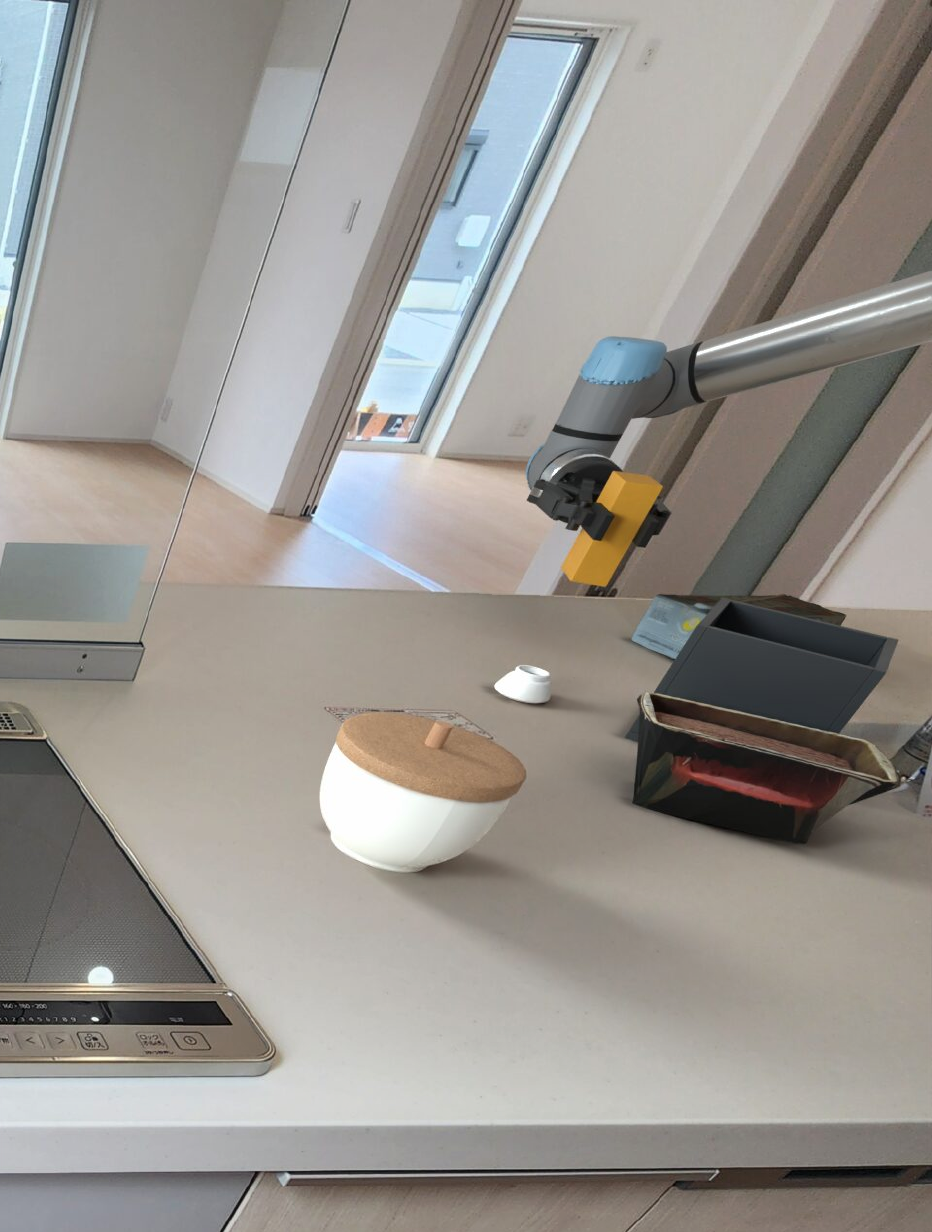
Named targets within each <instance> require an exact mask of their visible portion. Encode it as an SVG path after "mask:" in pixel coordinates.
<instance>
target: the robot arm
mask: <svg viewBox="0 0 932 1232" xmlns="http://www.w3.org/2000/svg"><path fill="white" fill-rule="evenodd" d="M928 343H932V270H928V271H926V272H922V273H919V274H915V275H912V276H908V277H905V278H903V279H900V280H896V281H893V282H889V283H886V284H883V285H880V286H876V287H873V288H870V289H867V290H863V291H860V292H857V293H853V294H851V295H848V296H845V297H841V298H838V299H835V300H831V301H828V302H824V303H822V304H818V305H815V306H812V307H809V308H805V309H803V310H798V311H797V312H796V311H795V312H793V313H789V314H785V315H783V316H779V317H777V318H773V319H770V320H767V321H764V322H759V323H757V324H754V325H751V326H748V327H744V328H741V329H738V330H734V331H731V332H728V333H725V334H722V335H718V336H715V337H712V338H709V339H705V340H703V341H700V342H695V343H692V344H689V345H685V346H681V347H679V348H675V349H673V350H669V351H668V348H667V345H666V344H665V343H664V342H663V341H658V340H653V339H645V338H638V337H630V336H616V335H615V336H614V335H613V336H612V335H611V336H606V337H603V338H601V339H600V340H599V341H598V342H597V343H595V345H594V347H593V348H592V351H591V352H590V354H589V356H588V358H587V359H586V360H585V363H583V364H582V366H581V368H580V370H579V374H578V377H577V379H576V381H575V383H574V385H573V387H572V388H571V391H570V393H569V395H568V397H567V399H566V401H565V404H563V405H564V406H563V408H562V409H561V412H560V414H559V416H558V418H557V420H556V422H555V424H554V426H553V428H552V429H551V431H550V432H549V435H548V437H547V438H546V440H545V442H544V443H543V444H542V445H540V446H539V447H538V448H537V449H536V450H535V451H533V453H532V455H531V456H530V458H529V459H528V461H527V464H526V468H525V477H526V481H527V483H526V484H527V486H528V489H529V490H530V492H529V494H528V496H527V498H526V502H529V503H530V504H533V505H535V506H536V507H537V508H539V509H540V510H541V511H542V512H543V514H545V515H546V516H547V517H548V518H550V519H551V520H552V521H560V522H563V523H564V524H566V526H565V528H564V529H565V530H568V531H572V532H573V531H574V532H577V531H578V530H579V528H580V527H581V529H582V528H583V529H584V530H585V532H586V533H587V534H588V535H589V536H590V537H591V538H592V539H593V540H597V541H601V540H602V538H603V536H604V535H605V533H606V531H607V529H608V527H609V526H610V524H611V522H612V520H613V518H614V517H615V516H614V515H613V514H612V513H611V512H610V511H609V510H608V509H607V508H606V507H605V506H604V505H603V504H602V503H597V502H596V501H597V500H598V498H599V496H600V494H601V492H602V490H603V489H604V487H605V485H606V483H607V481H608V479H609V477H610V476H611V474H612V472H613V471H618V472H624V470H623V469H622V468H621V467H620V466H619V465H617V464H616V463H615V462H614V461H613V460H612V459H611V458H612V456H613V453H614V452H615V449H616V448H617V446H618V443H619V442H620V440H621V438H622V437H623V435H624V434H625V432H626V429H627V428H628V426H629V424H630V422H631V421H632V420H633V419H643V418H645V419H656V418H661V417H665V416H669V415H673V414H676V413H678V412H680V411H682V410H684V409H687V408H690V407H695V406H697V405H701V404H703V403H709V402H711V401H715V400H718V399H722V398H725V397H730V396H733V395H738V394H741V393H744V392H748V391H752V390H755V389H759V388H763V387H767V386H770V385H771V386H772V385H774V384H779V383H782V382H786V381H789V380H793V379H797V378H800V377H801V378H802V377H804V376H808V375H811V374H815V373H819V372H823V371H826V370H830V369H834V368H838V367H842V366H845V365H850V364H853V363H857V362H861V361H864V360H869V359H871V358H876V357H880V356H883V355H887V354H891V353H894V352H898V351H902V350H906V349H909V348H913V347H917V346H920V345H921V346H922V345H924V344H928ZM663 500H664V497H662V496H661V495H658V497H657V498H656V500H655V502H654V504H653V505H652V507H651V509H650V511H649V512H648V514H647V516H646V517H645V519H644V521H643V523H642V524H641V526H640V528H639V530H638V531H637V533H636V535H635V536H634V538H633V540H632V542H631V543H633V544H634V545H635V546H636V547H637V548H643V549H646V548H647V546H648V544H649V543H650V541H651V540H652V537H653V536H659V535H660V534H661V533H662V530H663V528H664V527H665V525H666V523H667V522H668V520H669V518H670V517H671V515H672V512H673V511H671V510H670V509H669V508H668V507H667V506H666V505H665V504H664V503H663Z"/></svg>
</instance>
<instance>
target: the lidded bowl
mask: <svg viewBox="0 0 932 1232" xmlns="http://www.w3.org/2000/svg"><path fill="white" fill-rule="evenodd" d="M526 779H527V770H526V768H525V766H524V764H523V763H522V761H521V760H520V759H519V758H518V757H517V756H515V754H513V753H512V752H511V751H509V750H508V749H506V748H505V747H504V746H502V745H500V744H498V743H496V742H495V741H493V740H491V739H489V738H487V737H484V736H483V735H480V734H478V733H476V732H473V731H470V730H468V729H466V728H462V727H460V726H457V725H454V724H452V723H450V722H447V721H445V720H436V719H432V718H428V717H422V716H418V715H411V714H405V713H397V712H367V713H359V714H356V715H352V716H351V717H348V718H347V719H346V720H344V721H343V723H341V724H340V727H339V729H338V732H337V733H336V738H335V743H334V745H333V746H332V748H331V751H330V754H329V756H328V758H327V761H326V764H325V766H324V771H323V773H322V777H321V780H320V781H321V782H320V786H319V808H320V812H321V813H320V814H321V816H322V818H323V821H324V823H325V825H326V827H327V829H328V831H329V832H330V840H331V842H332V844H333V845H334V846H335V848H337V849H338V850H339V851H340V852H342V853H343V854H345V855H346V856H348V857H350V858H351V859H353V860H355V861H357V862H359V863H361V864H364V865H367V866H369V867H372V868H375V869H378V870H381V871H386V872H392V873H405V874H410V873H417V872H421V871H423V870H425V869H426V868H427V867H429V866H434V865H438V864H441V863H444V862H447V861H449V860H451V859H454V858H456V857H458V856H460V855H461V854H464V853H465V852H466V851H467V850H469V849H470V848H472V847H473V846H474V845H476V844H477V843H478V842H479V841H480V840H481V839H482V838H484V836H485V835H486V834H487V833H488V832H489V831H490V830H491V829H492V827H494V826H495V824H496V822H497V821H498V820H499V819H500V818H501V816H502V814H503V813H504V811H505V810H506V808H507V807H508V805H509V803H510V802H511V800H512V798H513V797H514V796H515V795H516V794H518V792H519V791H520V789H521V788H522V786H523V784H524V782H525V781H526Z"/></svg>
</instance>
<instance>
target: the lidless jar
mask: <svg viewBox="0 0 932 1232" xmlns="http://www.w3.org/2000/svg"><path fill="white" fill-rule="evenodd" d="M550 677H551V673H550V672H549V671H548V670H545V669H544V668H540V667H538V666H533V665H529V664H527V665H526V664H520V665H519V664H518V665H517V666H516V667H515V670H511V671H509V672H508V673H507V674H505V675H504V676H503V677H502V678H501V679H499V680H498V681H496V682H495V684H494V685H493V686H494V689H495V691H497V692H498V693H499V694H500V695H502V696H503V697H505V698H508V699H510V700H513V701H515V702H516V701H517V702H519V703H525V704H543V703H547V702H548V701H550V698H551V696H552V694H551V691H552V690H551V689H552V688H551V686H552V685H551V681H550V680H549V679H550Z"/></svg>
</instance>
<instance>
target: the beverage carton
mask: <svg viewBox="0 0 932 1232" xmlns="http://www.w3.org/2000/svg"><path fill="white" fill-rule="evenodd" d="M722 598H726V599H730V600H735V601H739V602H743V603H747V604H751V605H756V606H760V607H764V608H768V609H772V610H776V611H781V612H785V613H789V614H793V615H797V616H802V617H806V618H810V619H814V620H818V621H823V622H827V623H831V624H835V625H839V626H842V624H843V622H844V621H845V620H846V618H847V614H845V613H843V612H840V611H836V610H832V609H829V608H826V607H823V606H822V605H820V604H817V603H814V602H809V601H807V600H804V599H801V598H798V597H795V596H792V595H787V594H784V593H781V594H777V595H776V594H774V595H773V594H770V595H768V594H767V595H733V594H732V595H710V594H709V595H708V594H707V595H706V594H705V595H703V594H700V595H699V594H697V595H696V594H674V593H673V594H666V593H665V594H663V593H659V594H656V595H655V596H654V598H653V599H652V601H651V603H650V605H649V606H648V608H647V610H646V611H645V613H644V615H642V617H641V618H640V622H638V624H637V626H636V628H635V630H634V633H633V634H632V637H631V641H632V642H633V643H635V644H638V645H640V646H642V647H644V648H646V649H648V650H650V651H653V652H656V653H659V654H661V655H664V656H666V657H667V658H670V659H672V660H675V659H676V657H677V655H678V654H679V652H680V651H681V649H682V648H683V646H684V645H685V643H686V642H687V640H688V638H689V637H690V635H691V634H692V632H693V631H694V629H695V628H696V626H697V625H698V624H699V623H700V622H701V620H702V619H703V618H704V617H705V616H706V615H707V614H708V613H709V612H710V611H711V610H712V609H713V607H714V606H715V605H716V604H717V603H718V602H719V601H720V600H721V599H722Z"/></svg>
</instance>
